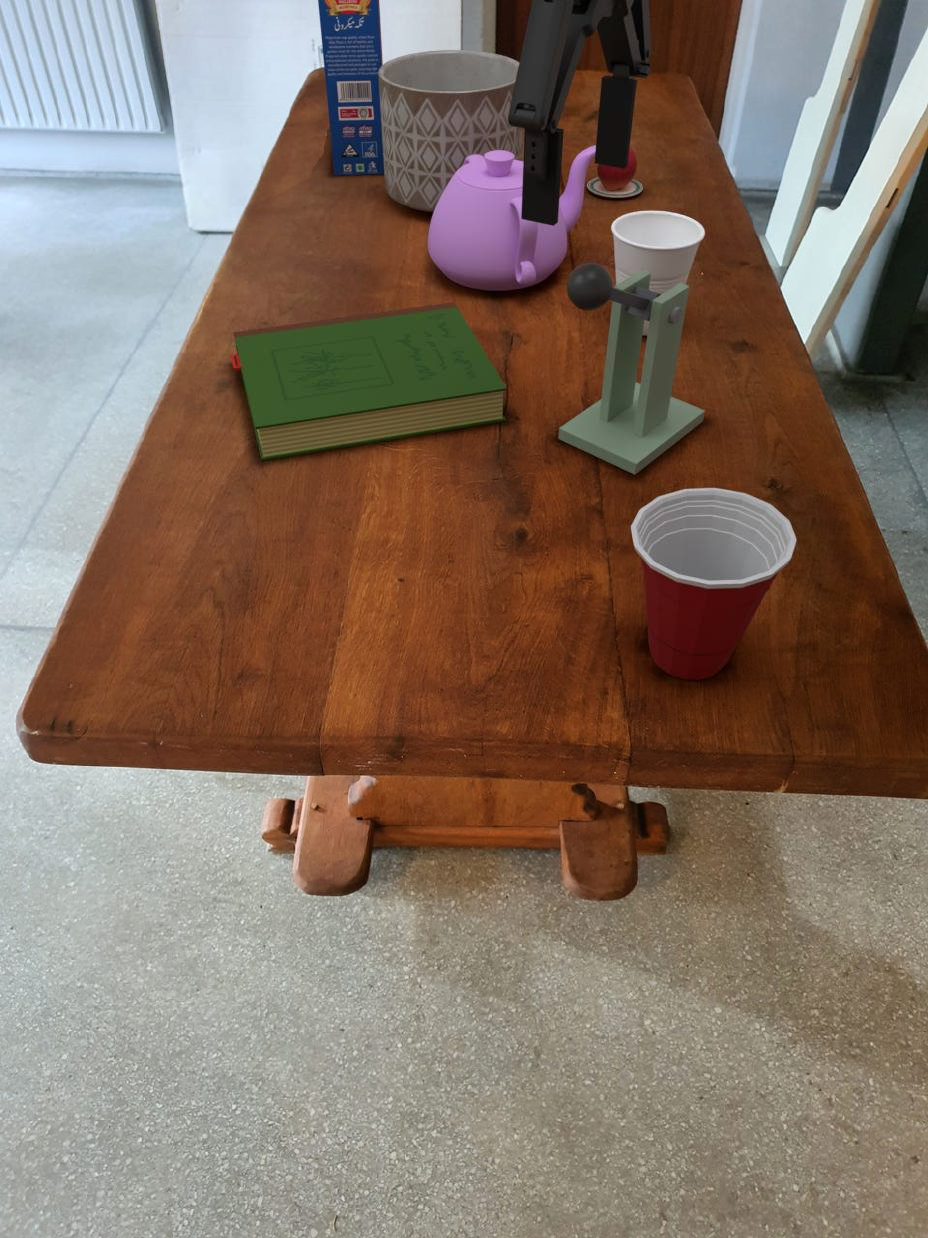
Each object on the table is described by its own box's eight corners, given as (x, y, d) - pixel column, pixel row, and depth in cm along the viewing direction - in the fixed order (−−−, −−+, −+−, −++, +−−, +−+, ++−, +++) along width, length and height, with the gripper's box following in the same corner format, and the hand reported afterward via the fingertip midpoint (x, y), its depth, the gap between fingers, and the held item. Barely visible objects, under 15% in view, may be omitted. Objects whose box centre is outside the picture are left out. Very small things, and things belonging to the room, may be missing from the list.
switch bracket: (634, 475, 88) (657, 327, 77) (557, 439, 92) (569, 293, 82) (703, 421, 94) (732, 277, 84) (628, 389, 98) (647, 249, 88)
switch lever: (589, 313, 73) (606, 266, 72) (552, 299, 75) (568, 253, 74) (665, 333, 85) (680, 293, 83) (631, 321, 86) (646, 281, 85)
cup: (694, 345, 105) (712, 247, 97) (605, 345, 105) (616, 247, 97) (681, 304, 112) (697, 209, 104) (597, 303, 112) (607, 209, 104)
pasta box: (387, 173, 142) (375, -51, 123) (334, 175, 142) (313, -50, 122) (385, 114, 162) (374, -88, 143) (338, 115, 162) (321, -87, 142)
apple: (608, 204, 134) (612, 155, 129) (576, 186, 139) (579, 138, 134) (653, 193, 136) (659, 145, 132) (620, 176, 141) (625, 129, 137)
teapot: (630, 290, 114) (646, 171, 105) (462, 320, 109) (462, 197, 99) (556, 222, 129) (564, 112, 120) (405, 245, 124) (400, 132, 114)
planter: (418, 235, 126) (413, 99, 115) (366, 186, 139) (357, 59, 127) (544, 210, 132) (552, 79, 121) (484, 165, 145) (485, 43, 133)
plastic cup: (653, 584, 77) (676, 462, 69) (780, 639, 72) (821, 515, 64) (586, 664, 71) (602, 540, 62) (720, 729, 66) (757, 606, 58)
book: (454, 333, 107) (454, 302, 104) (505, 421, 94) (506, 388, 92) (232, 365, 102) (226, 333, 100) (253, 462, 89) (247, 428, 87)
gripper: (623, -171, 70) (597, 137, 85) (455, -131, 54) (459, 237, 69) (722, -166, 67) (676, 151, 82) (574, -123, 52) (551, 258, 66)
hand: (577, 191), depth 76 cm, fingers open, 13 cm apart
